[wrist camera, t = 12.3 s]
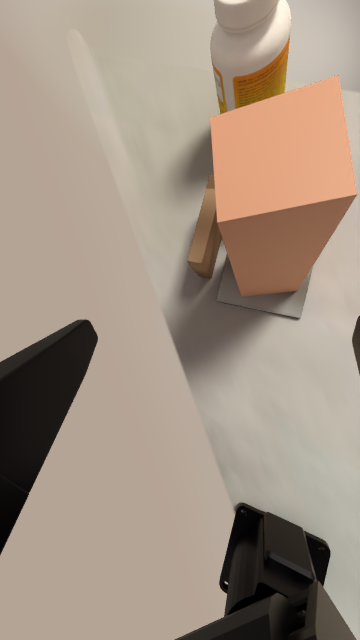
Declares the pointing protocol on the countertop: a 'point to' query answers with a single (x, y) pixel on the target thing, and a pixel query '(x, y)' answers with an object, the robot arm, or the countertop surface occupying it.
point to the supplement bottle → (249, 51)
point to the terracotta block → (281, 184)
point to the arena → (205, 258)
